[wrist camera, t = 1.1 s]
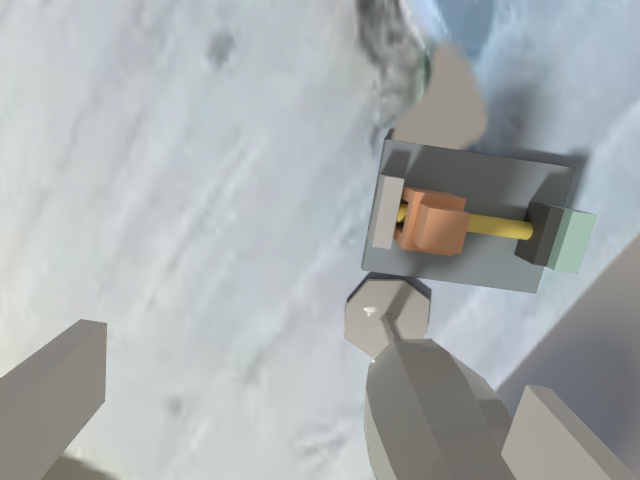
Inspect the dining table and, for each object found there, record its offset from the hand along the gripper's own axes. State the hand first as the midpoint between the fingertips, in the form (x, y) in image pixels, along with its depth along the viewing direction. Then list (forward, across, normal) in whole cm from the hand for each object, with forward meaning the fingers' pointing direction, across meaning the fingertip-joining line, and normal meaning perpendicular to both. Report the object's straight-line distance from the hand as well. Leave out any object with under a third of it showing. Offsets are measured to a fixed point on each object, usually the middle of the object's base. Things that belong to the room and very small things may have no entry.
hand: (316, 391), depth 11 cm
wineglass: (+23, +8, -8) cm, 26 cm away
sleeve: (+22, +9, +3) cm, 24 cm away
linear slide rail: (+23, +13, +3) cm, 27 cm away
